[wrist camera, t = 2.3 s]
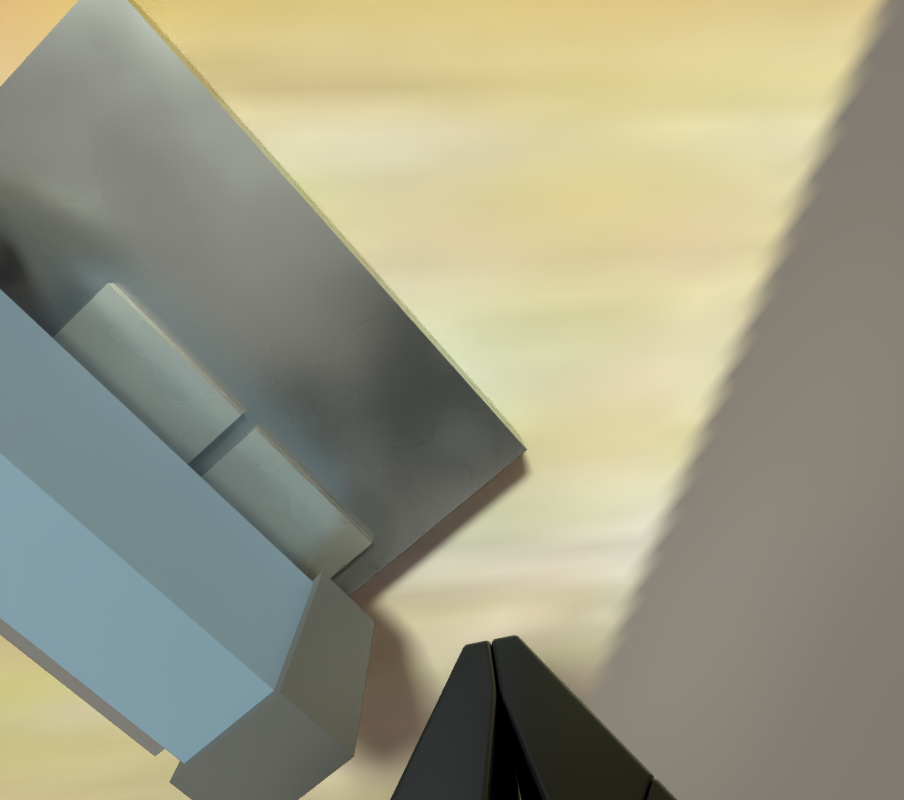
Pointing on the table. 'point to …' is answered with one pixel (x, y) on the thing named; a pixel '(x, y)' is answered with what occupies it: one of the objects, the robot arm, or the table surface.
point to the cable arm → (166, 589)
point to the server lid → (225, 309)
